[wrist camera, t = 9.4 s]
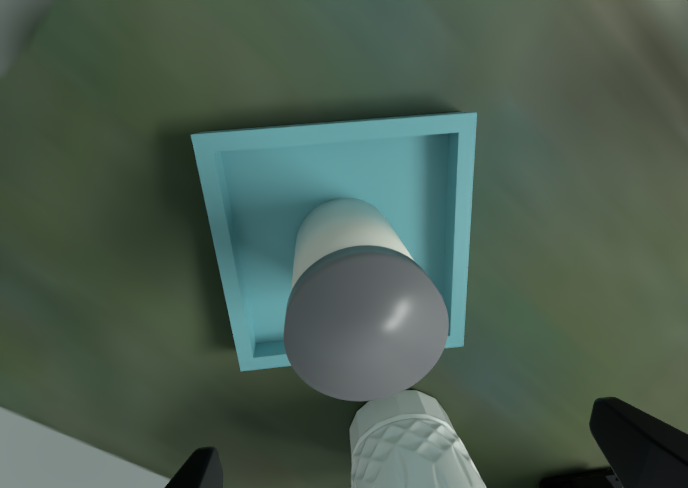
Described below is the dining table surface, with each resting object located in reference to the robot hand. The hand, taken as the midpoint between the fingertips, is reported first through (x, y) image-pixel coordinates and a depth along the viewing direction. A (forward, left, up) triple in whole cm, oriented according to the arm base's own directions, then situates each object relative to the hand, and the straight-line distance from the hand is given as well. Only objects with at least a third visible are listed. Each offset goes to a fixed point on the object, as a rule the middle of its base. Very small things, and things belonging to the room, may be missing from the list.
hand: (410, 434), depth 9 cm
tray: (0, +1, -12) cm, 12 cm away
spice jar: (0, +1, -12) cm, 12 cm away
